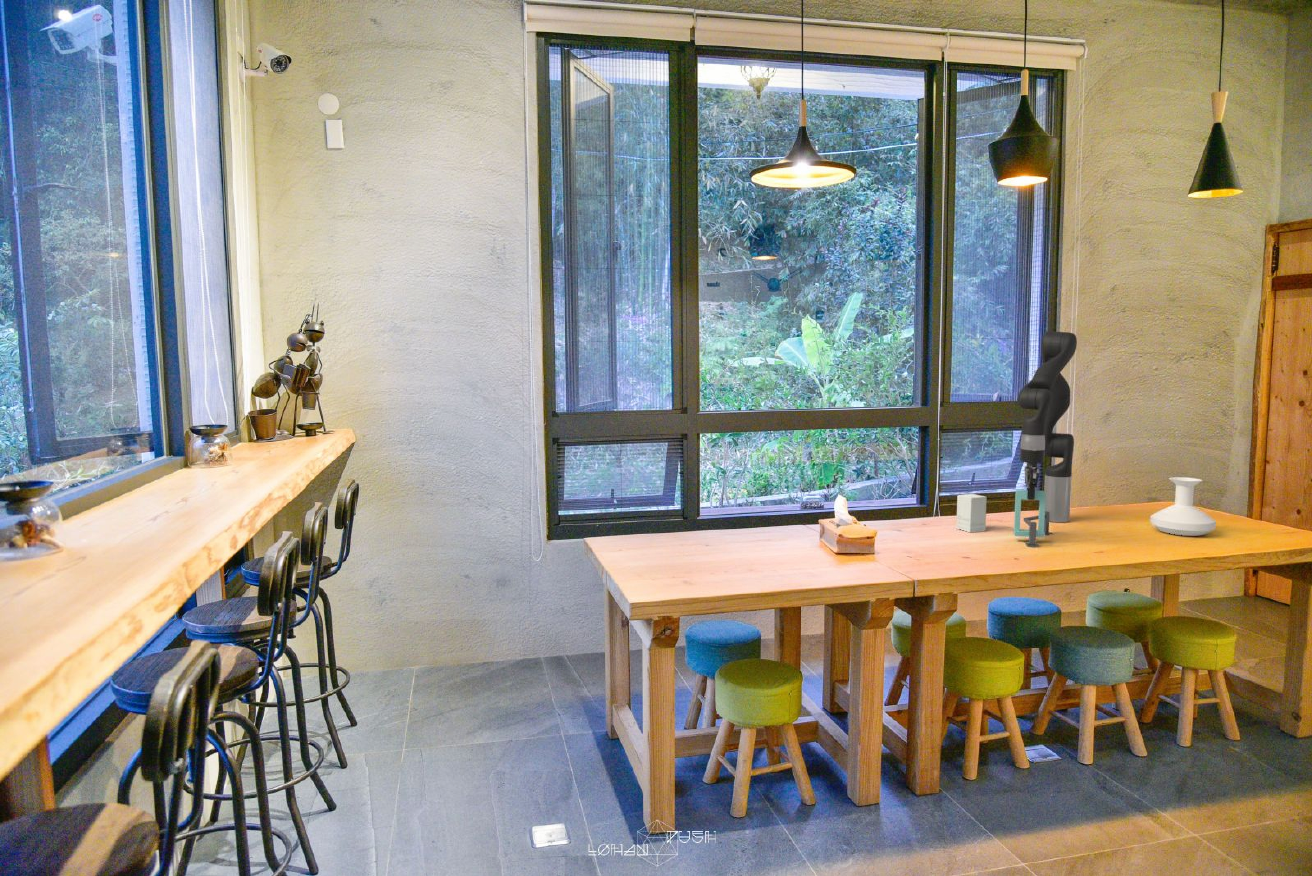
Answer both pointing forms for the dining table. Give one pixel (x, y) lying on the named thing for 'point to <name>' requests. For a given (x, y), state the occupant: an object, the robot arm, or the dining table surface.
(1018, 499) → the teal frame
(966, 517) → the supplement box
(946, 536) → the dining table surface
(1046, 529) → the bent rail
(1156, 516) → the candle holder
